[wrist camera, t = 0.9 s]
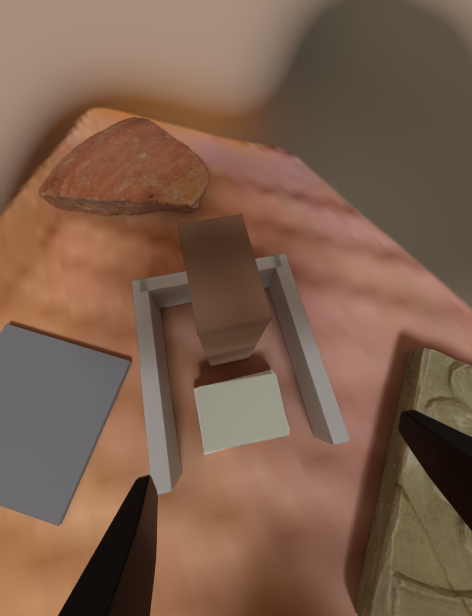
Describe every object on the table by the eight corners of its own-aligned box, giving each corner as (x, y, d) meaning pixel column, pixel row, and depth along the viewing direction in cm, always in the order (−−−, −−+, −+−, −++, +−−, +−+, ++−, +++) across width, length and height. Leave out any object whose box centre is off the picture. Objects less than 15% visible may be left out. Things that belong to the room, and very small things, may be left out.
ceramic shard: (123, 241, 21) (22, 182, 25) (158, 275, 27) (71, 223, 31) (221, 123, 23) (114, 89, 28) (232, 178, 30) (143, 143, 34)
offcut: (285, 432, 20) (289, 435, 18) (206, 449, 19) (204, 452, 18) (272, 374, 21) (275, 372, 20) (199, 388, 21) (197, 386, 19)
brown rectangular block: (248, 358, 23) (272, 316, 11) (211, 366, 22) (197, 332, 11) (234, 299, 25) (241, 214, 13) (199, 306, 24) (177, 224, 13)
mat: (61, 523, 18) (58, 525, 17) (-86, 471, 18) (-92, 473, 18) (131, 361, 22) (130, 361, 22) (10, 324, 23) (6, 323, 22)
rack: (327, 433, 21) (350, 440, 17) (166, 477, 19) (152, 496, 15) (276, 274, 26) (284, 253, 22) (146, 299, 24) (131, 280, 20)
